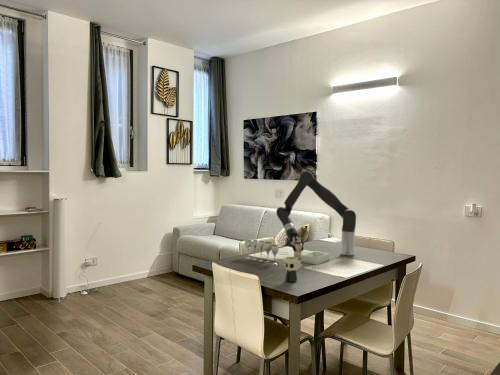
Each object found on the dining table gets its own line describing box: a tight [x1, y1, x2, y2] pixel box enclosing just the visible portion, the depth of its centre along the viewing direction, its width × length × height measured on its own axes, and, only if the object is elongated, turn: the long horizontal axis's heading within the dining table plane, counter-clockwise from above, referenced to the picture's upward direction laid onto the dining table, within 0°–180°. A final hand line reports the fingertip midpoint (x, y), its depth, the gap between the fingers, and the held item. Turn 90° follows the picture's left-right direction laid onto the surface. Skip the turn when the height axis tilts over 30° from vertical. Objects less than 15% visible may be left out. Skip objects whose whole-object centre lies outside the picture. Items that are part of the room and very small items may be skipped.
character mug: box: [282, 256, 302, 283], centre depth 218 cm, size 11×7×13 cm, turn 57°
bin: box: [300, 250, 331, 266], centre depth 269 cm, size 18×12×4 cm, turn 143°
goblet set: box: [244, 239, 280, 265], centre depth 265 cm, size 28×6×13 cm, turn 49°
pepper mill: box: [293, 241, 302, 260], centre depth 275 cm, size 5×5×12 cm
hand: (299, 250), depth 273 cm, fingers closed on pepper mill, 5 cm apart
